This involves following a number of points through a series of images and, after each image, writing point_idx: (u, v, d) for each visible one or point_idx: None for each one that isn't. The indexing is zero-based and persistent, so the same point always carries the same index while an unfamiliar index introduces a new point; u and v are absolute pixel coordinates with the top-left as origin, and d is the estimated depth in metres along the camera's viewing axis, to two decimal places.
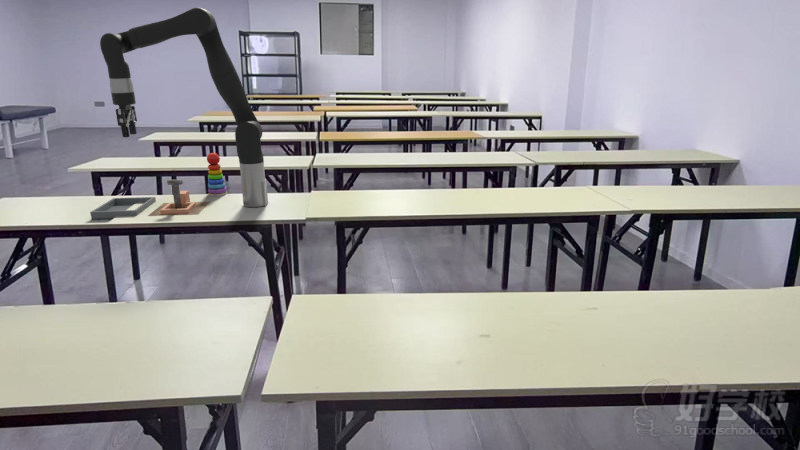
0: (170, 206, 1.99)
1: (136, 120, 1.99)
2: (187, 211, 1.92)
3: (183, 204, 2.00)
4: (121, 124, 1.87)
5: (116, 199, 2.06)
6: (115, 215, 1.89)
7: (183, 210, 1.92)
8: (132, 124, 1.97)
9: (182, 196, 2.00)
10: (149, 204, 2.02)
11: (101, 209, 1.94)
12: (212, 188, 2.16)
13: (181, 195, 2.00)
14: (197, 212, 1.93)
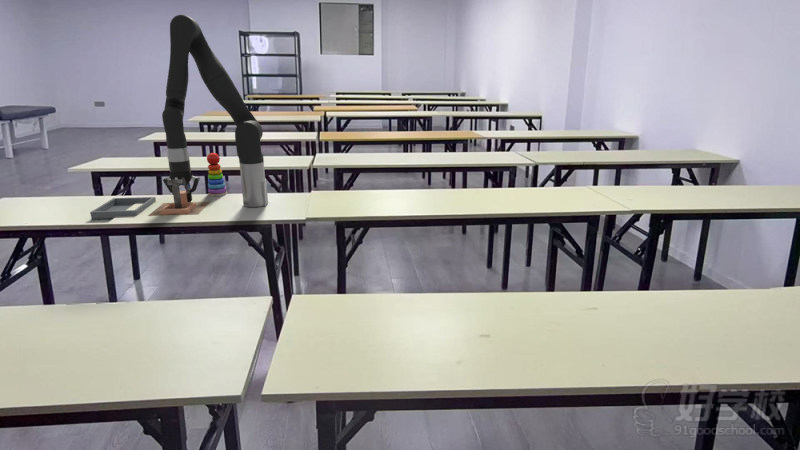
0: (170, 206, 1.99)
1: None
2: (187, 211, 1.92)
3: (183, 204, 2.00)
4: (194, 190, 2.03)
5: (116, 199, 2.06)
6: (115, 215, 1.89)
7: (183, 210, 1.92)
8: None
9: (182, 196, 2.00)
10: (149, 204, 2.02)
11: (101, 209, 1.94)
12: (212, 188, 2.16)
13: (181, 195, 2.00)
14: (197, 212, 1.93)
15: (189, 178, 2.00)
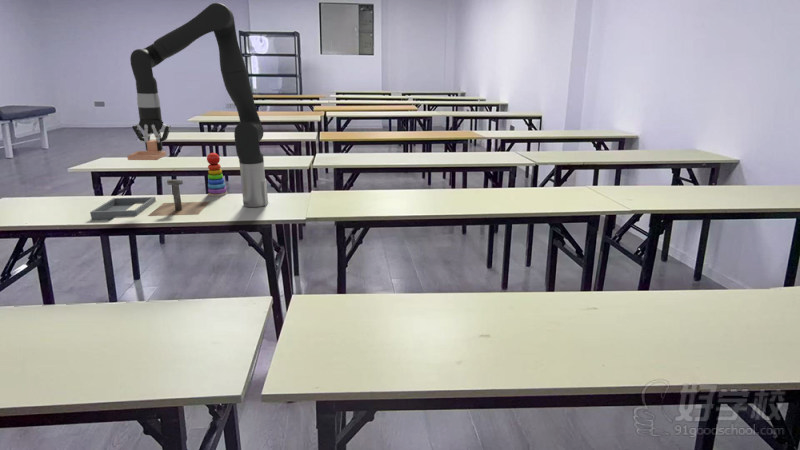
0: (139, 154, 1.92)
1: None
2: (155, 158, 1.86)
3: (153, 152, 1.94)
4: (165, 139, 1.96)
5: (116, 199, 2.06)
6: (115, 215, 1.89)
7: (151, 157, 1.85)
8: None
9: (152, 144, 1.94)
10: (149, 204, 2.02)
11: (101, 209, 1.94)
12: (212, 188, 2.16)
13: (151, 143, 1.94)
14: (197, 212, 1.93)
15: (159, 126, 1.94)
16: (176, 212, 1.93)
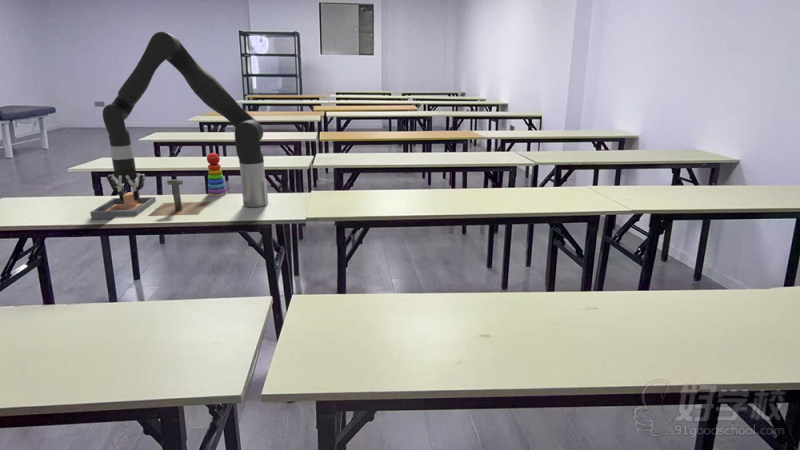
0: (116, 207, 1.99)
1: None
2: None
3: (129, 205, 2.00)
4: (141, 187, 2.02)
5: (116, 199, 2.06)
6: (115, 215, 1.89)
7: None
8: (123, 191, 2.02)
9: (128, 197, 2.01)
10: (149, 204, 2.02)
11: (101, 209, 1.94)
12: (212, 188, 2.16)
13: (127, 196, 2.00)
14: (197, 212, 1.93)
15: (134, 176, 1.99)
16: (176, 212, 1.93)
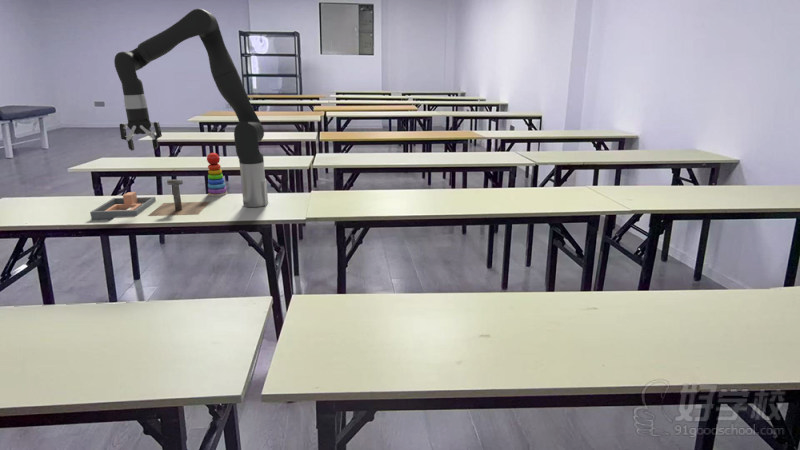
0: (116, 207, 1.99)
1: None
2: None
3: (129, 205, 2.00)
4: (160, 135, 2.01)
5: (116, 199, 2.06)
6: (115, 215, 1.89)
7: None
8: (131, 140, 2.00)
9: (128, 197, 2.01)
10: (149, 204, 2.02)
11: (101, 209, 1.94)
12: (212, 188, 2.16)
13: (127, 196, 2.00)
14: (197, 212, 1.93)
15: (148, 126, 1.98)
16: (176, 212, 1.93)
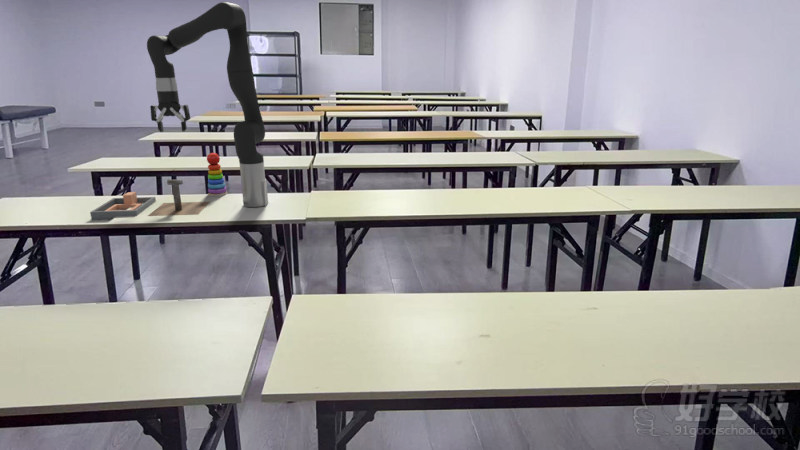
0: (116, 207, 1.99)
1: None
2: None
3: (129, 205, 2.00)
4: (189, 118, 2.07)
5: (116, 199, 2.06)
6: (115, 215, 1.89)
7: None
8: (161, 122, 2.06)
9: (128, 197, 2.01)
10: (149, 204, 2.02)
11: (101, 209, 1.94)
12: (212, 188, 2.16)
13: (127, 196, 2.00)
14: (197, 212, 1.93)
15: (178, 108, 2.04)
16: (176, 212, 1.93)
